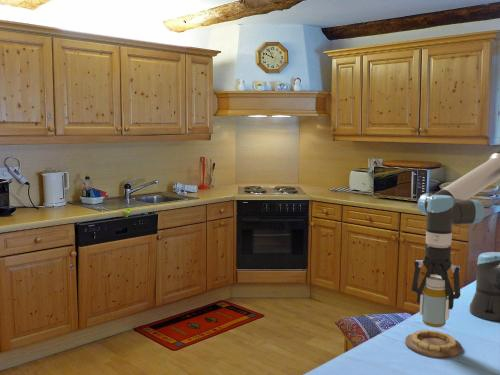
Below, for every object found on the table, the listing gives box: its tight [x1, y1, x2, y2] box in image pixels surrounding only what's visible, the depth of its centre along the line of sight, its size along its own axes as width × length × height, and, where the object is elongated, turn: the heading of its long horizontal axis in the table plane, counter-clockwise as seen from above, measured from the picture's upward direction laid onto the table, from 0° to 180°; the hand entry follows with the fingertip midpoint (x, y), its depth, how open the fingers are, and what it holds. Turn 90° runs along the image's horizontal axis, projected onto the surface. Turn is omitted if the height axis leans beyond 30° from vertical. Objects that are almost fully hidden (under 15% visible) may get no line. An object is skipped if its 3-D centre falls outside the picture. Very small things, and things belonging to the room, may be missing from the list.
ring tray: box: [404, 329, 463, 359], centre depth 168 cm, size 17×17×2 cm
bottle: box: [421, 274, 448, 328], centre depth 166 cm, size 7×7×15 cm
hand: (434, 315), depth 166 cm, fingers closed on bottle, 7 cm apart
